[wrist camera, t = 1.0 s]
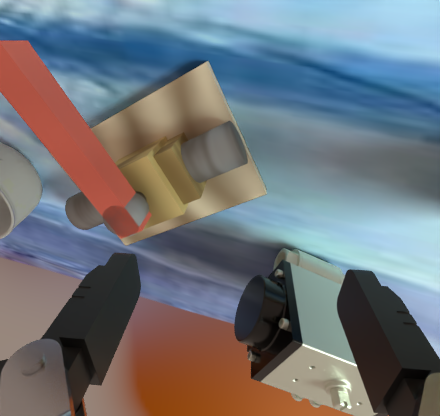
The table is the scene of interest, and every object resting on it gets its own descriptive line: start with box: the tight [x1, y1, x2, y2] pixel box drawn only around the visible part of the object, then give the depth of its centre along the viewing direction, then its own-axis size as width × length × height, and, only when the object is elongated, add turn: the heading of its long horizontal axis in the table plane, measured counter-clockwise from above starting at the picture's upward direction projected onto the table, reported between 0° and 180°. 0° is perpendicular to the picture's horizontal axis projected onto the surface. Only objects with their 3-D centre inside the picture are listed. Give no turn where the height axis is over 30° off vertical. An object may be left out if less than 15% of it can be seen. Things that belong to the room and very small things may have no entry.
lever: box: [0, 41, 151, 239], centre depth 21 cm, size 16×3×2 cm, turn 27°
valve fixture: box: [50, 61, 267, 245], centre depth 29 cm, size 21×15×9 cm
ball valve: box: [234, 248, 388, 416], centre depth 30 cm, size 18×8×18 cm, turn 66°
